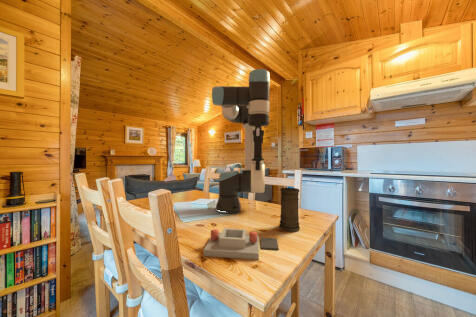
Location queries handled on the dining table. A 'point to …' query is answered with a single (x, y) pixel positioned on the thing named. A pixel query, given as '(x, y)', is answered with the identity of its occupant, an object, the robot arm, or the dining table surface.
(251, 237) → the plunger
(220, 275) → the dining table surface
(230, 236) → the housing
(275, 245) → the mat
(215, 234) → the plunger
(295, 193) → the container
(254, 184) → the cylinder
